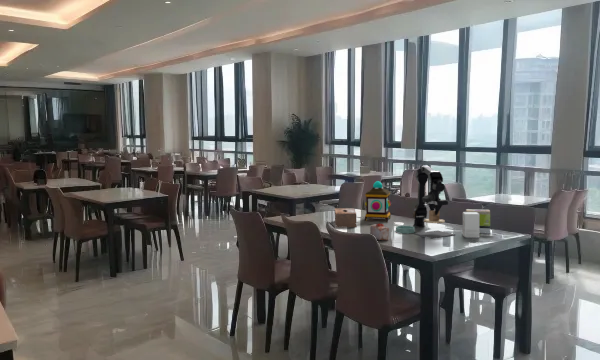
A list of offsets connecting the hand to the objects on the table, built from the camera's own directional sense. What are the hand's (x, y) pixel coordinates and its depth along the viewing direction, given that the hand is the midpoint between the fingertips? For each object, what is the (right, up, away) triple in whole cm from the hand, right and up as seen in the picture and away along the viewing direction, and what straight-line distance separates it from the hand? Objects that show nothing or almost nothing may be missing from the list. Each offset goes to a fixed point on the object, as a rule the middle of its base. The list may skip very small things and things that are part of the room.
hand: (434, 214), depth 310 cm
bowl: (-16, -12, +13) cm, 24 cm away
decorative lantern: (-26, -9, +61) cm, 67 cm away
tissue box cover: (-53, -11, +45) cm, 71 cm away
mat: (0, -13, +1) cm, 13 cm away
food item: (-37, -15, -9) cm, 41 cm away
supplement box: (+22, -14, -5) cm, 26 cm away
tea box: (+31, -12, +8) cm, 34 cm away
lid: (0, -5, 0) cm, 5 cm away
